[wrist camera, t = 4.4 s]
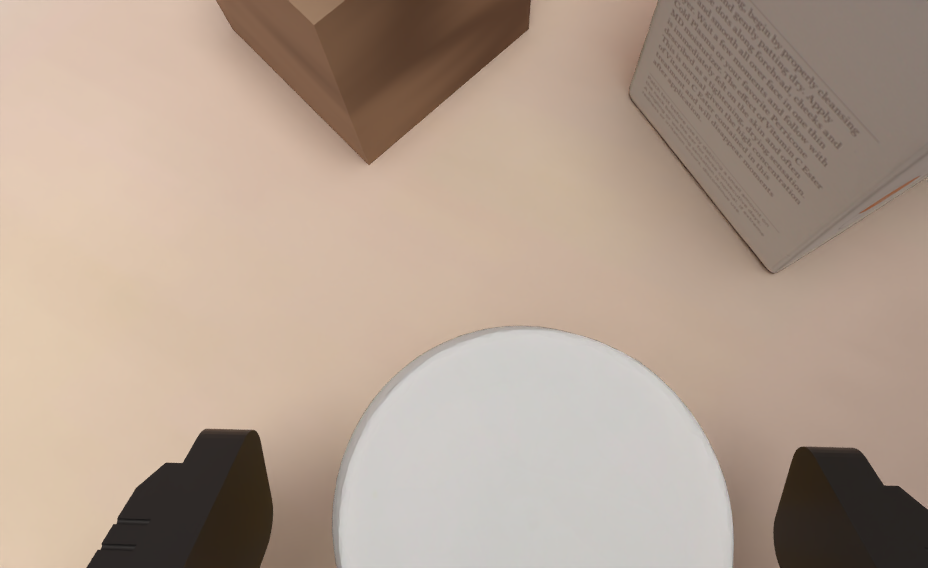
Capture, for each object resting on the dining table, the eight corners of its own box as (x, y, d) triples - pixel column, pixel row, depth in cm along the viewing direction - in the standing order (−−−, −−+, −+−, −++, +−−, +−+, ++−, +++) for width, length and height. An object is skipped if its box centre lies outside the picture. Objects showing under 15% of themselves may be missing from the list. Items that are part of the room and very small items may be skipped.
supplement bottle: (619, 646, 15) (814, 900, 6) (378, 611, 16) (210, 797, 6) (634, 400, 17) (808, 295, 7) (413, 373, 17) (317, 243, 8)
